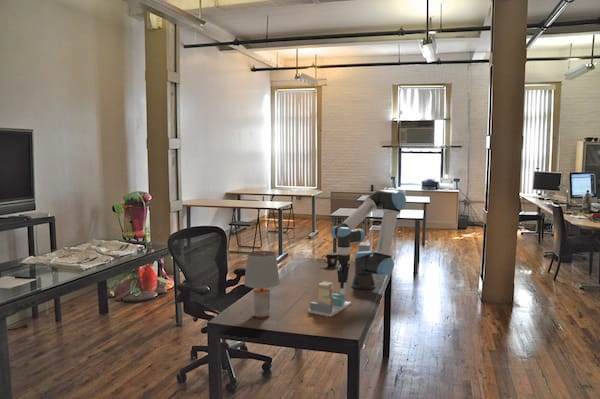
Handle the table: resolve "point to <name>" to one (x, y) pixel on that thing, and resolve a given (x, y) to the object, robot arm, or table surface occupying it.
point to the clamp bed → (334, 310)
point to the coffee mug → (331, 259)
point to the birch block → (326, 293)
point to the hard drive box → (364, 246)
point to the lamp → (261, 279)
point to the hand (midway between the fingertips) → (342, 293)
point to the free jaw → (338, 299)
